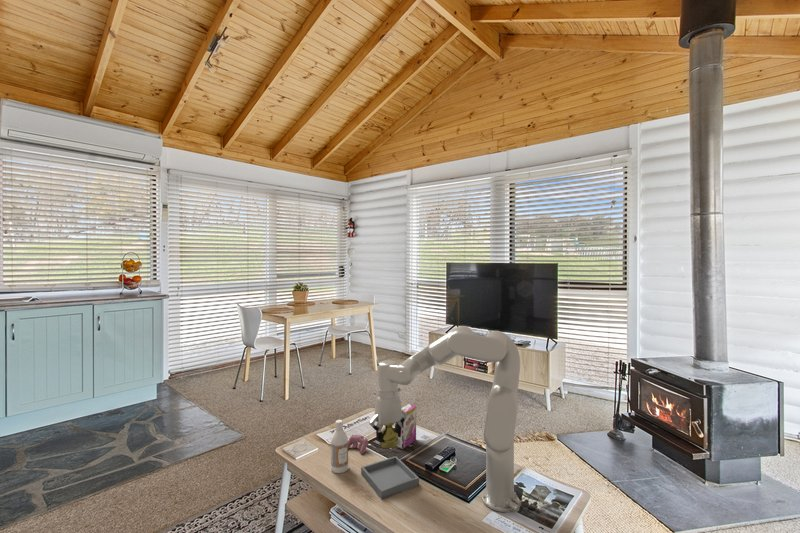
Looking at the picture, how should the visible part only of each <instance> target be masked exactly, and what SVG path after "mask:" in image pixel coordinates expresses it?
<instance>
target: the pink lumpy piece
mask: <svg viewBox="0 0 800 533" xmlns="http://www.w3.org/2000/svg"><path fill="white" fill-rule="evenodd" d="M368 445H369V440H368V439H367V438H366V436H363V435H361V434H352V435H351V436H350V437H349V438H348V449H350V447H351V446H352V447H353V448H354V449H358V450H360V452H359V453H360V454H361V455H363V454H364V453H365V451H366V450H367V447H368Z"/></svg>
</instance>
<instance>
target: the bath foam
mask: <svg viewBox="0 0 800 533" xmlns="http://www.w3.org/2000/svg"><path fill="white" fill-rule="evenodd" d="M334 424H335V430H334V431H333V433H332V436H331V437H330V464H331V465H330V466H331V467H330V469H331V472H333V473H335V474H343V473H345V472H347V471H348V469H349V448H348V440H349V438H348V435H347V433H346V432H345V430H344V426H343V424H344V423H343V420H342V419H337V420H335V423H334Z"/></svg>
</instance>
